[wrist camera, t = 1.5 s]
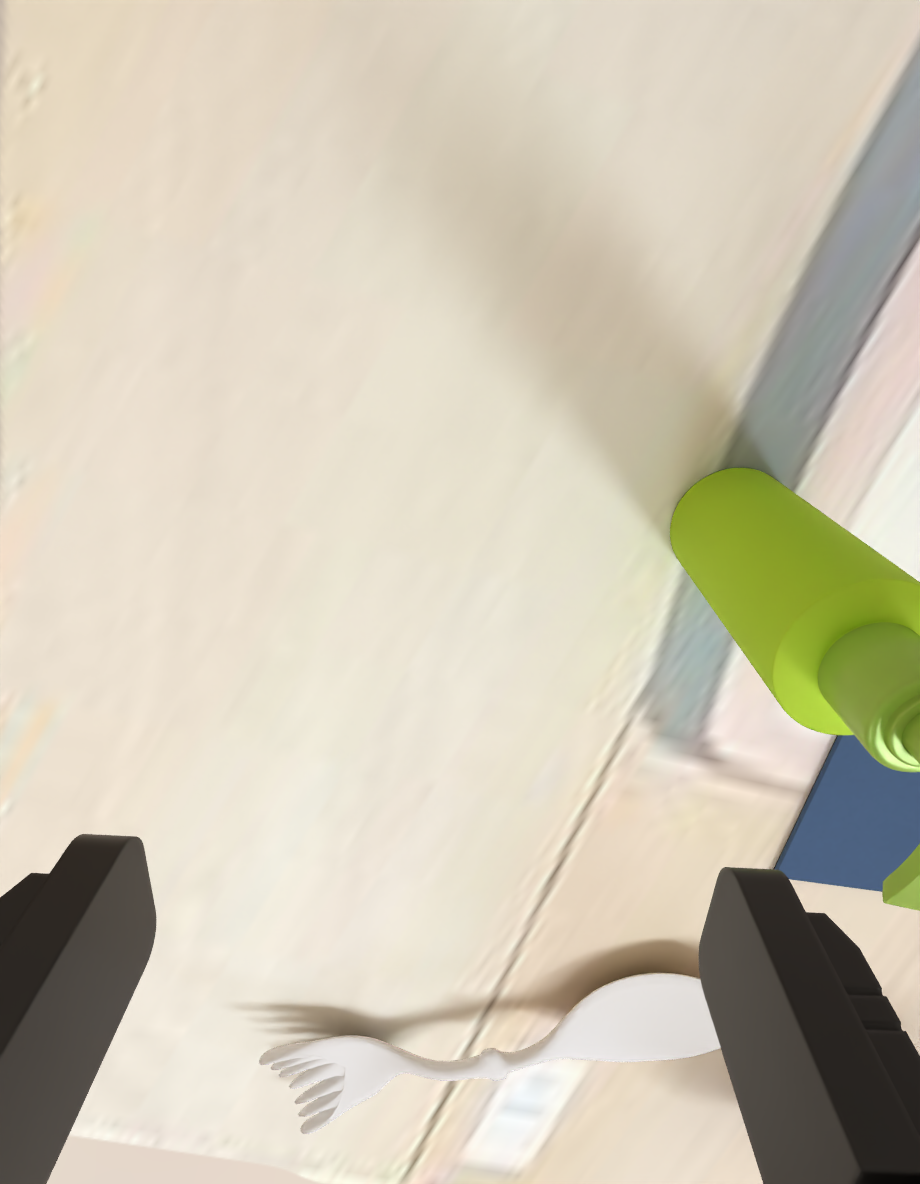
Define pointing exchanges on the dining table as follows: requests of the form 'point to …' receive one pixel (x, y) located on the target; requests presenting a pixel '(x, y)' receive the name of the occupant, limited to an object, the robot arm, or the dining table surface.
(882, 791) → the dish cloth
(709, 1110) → the dining table surface
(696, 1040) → the spoon
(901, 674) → the soap dispenser
